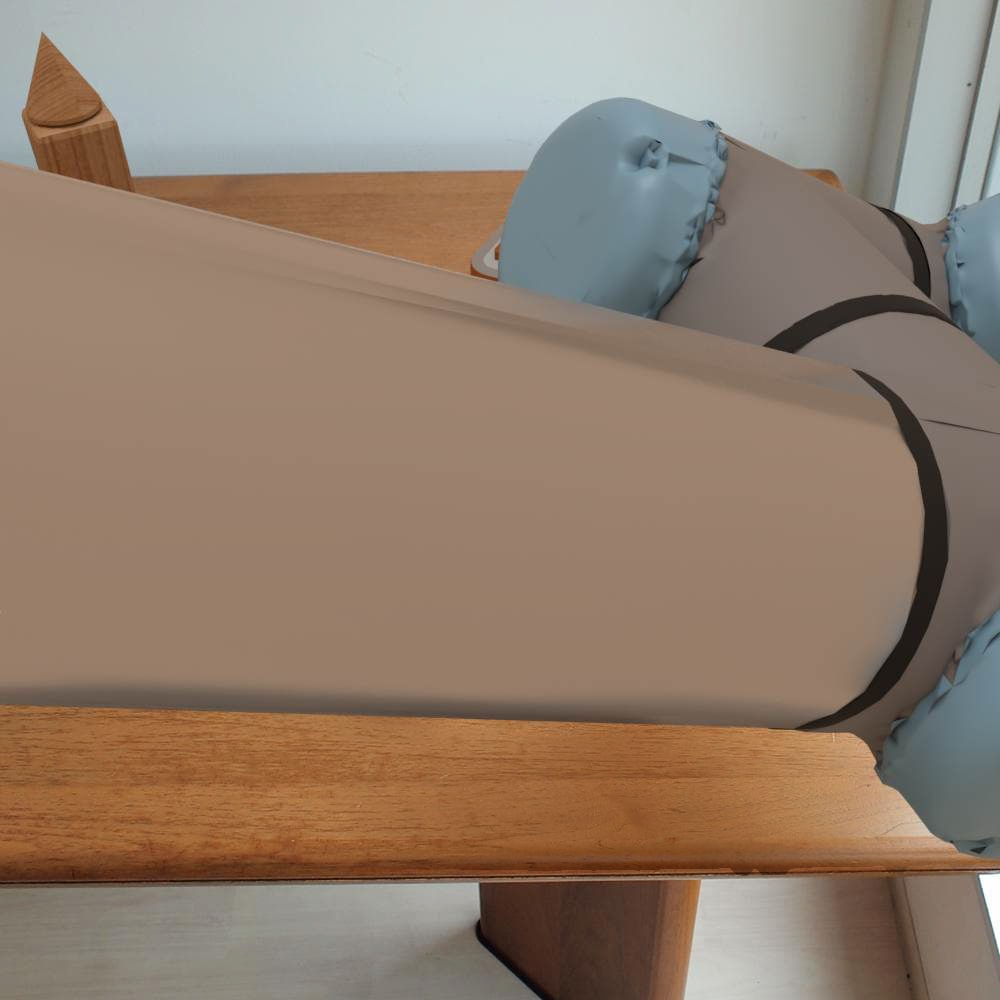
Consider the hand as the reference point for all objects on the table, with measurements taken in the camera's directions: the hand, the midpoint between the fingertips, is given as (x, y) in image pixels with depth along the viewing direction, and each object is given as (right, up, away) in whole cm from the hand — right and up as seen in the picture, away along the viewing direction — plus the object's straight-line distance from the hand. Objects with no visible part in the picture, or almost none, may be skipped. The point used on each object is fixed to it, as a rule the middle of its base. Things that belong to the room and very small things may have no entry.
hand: (442, 557), depth 66 cm
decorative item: (-32, +25, +44) cm, 60 cm away
